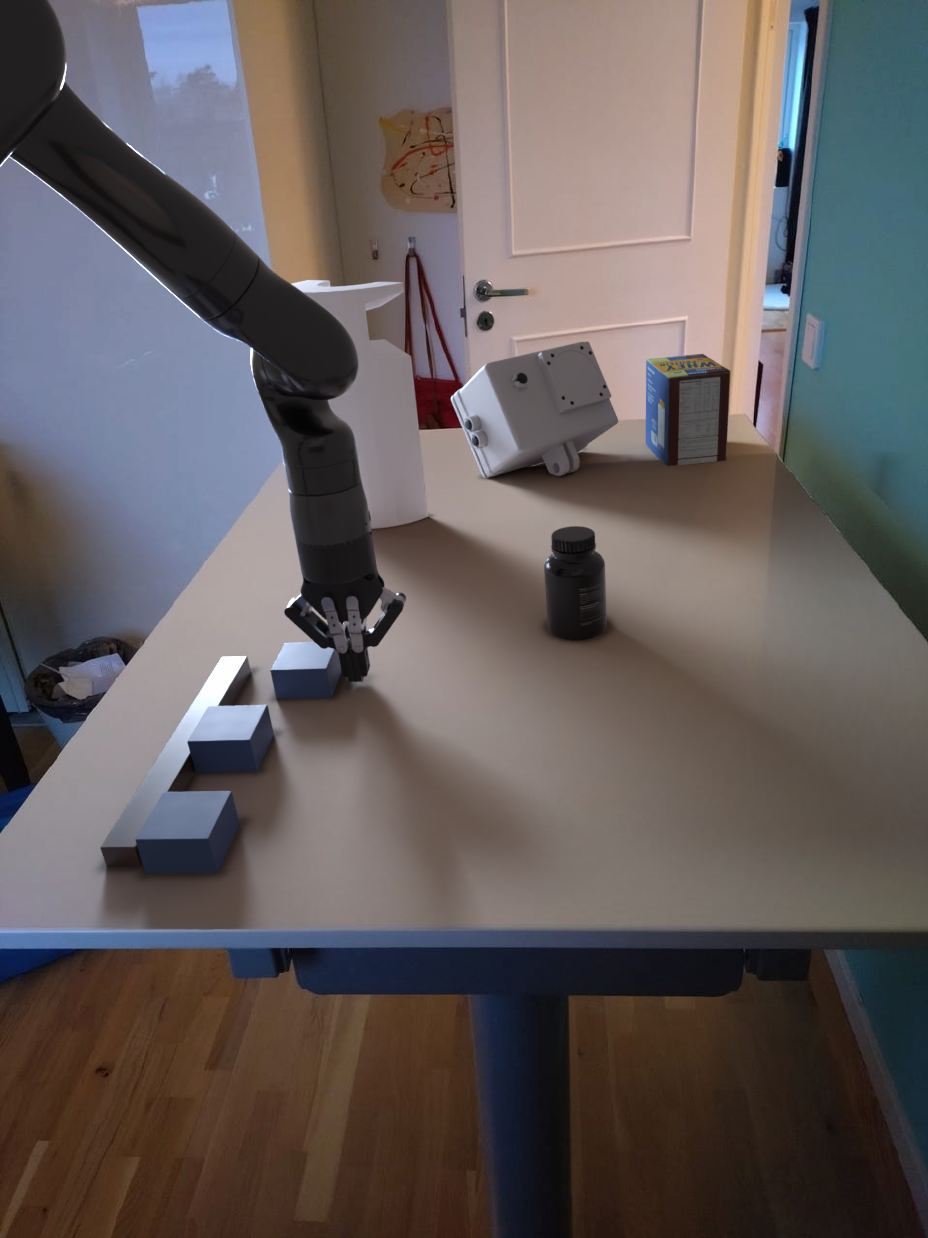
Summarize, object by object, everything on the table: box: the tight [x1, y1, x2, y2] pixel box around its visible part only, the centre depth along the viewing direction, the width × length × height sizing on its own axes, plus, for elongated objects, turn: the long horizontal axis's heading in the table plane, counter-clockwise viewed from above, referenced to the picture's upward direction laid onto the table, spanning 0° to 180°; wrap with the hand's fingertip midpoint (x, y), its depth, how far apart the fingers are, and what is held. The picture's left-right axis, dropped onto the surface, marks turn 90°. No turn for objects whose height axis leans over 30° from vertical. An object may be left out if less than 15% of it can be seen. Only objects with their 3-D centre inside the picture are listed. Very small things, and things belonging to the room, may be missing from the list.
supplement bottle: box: [543, 525, 608, 641], centre depth 101 cm, size 7×7×12 cm
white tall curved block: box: [291, 279, 429, 530], centre depth 136 cm, size 35×11×21 cm
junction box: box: [450, 341, 619, 479], centre depth 153 cm, size 24×15×22 cm
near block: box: [135, 790, 241, 875], centre depth 74 cm, size 6×6×4 cm
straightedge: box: [99, 655, 252, 868], centre depth 86 cm, size 3×31×2 cm, turn 175°
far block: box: [269, 641, 342, 700], centre depth 96 cm, size 6×6×4 cm
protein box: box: [645, 353, 732, 467], centre depth 155 cm, size 10×15×16 cm
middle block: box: [187, 704, 275, 774], centre depth 86 cm, size 6×6×4 cm
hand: (357, 678), depth 96 cm, fingers closed
